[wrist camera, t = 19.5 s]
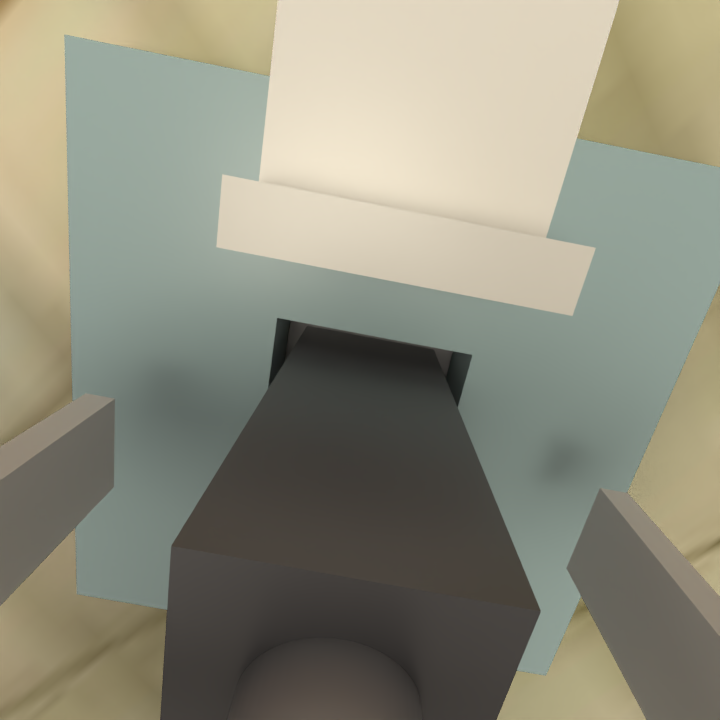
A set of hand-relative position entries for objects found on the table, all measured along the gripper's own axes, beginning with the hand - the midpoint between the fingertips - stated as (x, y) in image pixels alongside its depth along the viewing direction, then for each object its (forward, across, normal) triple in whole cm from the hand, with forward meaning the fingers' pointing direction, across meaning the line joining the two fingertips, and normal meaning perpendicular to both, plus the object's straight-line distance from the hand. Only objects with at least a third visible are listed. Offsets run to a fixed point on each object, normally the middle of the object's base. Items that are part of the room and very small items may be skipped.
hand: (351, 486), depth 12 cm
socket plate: (+7, 0, 0) cm, 7 cm away
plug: (+6, 0, 0) cm, 6 cm away
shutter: (+4, 0, +10) cm, 10 cm away
